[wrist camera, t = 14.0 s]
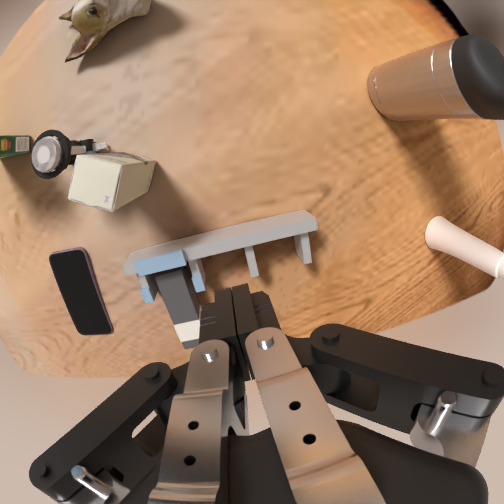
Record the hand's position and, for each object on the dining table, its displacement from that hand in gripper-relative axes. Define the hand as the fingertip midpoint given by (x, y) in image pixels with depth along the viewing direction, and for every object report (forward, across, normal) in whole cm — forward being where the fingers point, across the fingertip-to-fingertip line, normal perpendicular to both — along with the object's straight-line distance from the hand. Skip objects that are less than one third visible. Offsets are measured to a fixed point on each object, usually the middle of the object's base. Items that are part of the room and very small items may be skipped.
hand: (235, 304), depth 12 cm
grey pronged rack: (+25, +2, +6) cm, 26 cm away
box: (+25, +10, -7) cm, 28 cm away
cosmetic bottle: (+25, -35, +12) cm, 45 cm away
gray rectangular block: (+25, +9, +12) cm, 29 cm away
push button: (+25, +16, -12) cm, 32 cm away
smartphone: (+25, +25, +8) cm, 36 cm away
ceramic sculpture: (+25, +10, -31) cm, 41 cm away
